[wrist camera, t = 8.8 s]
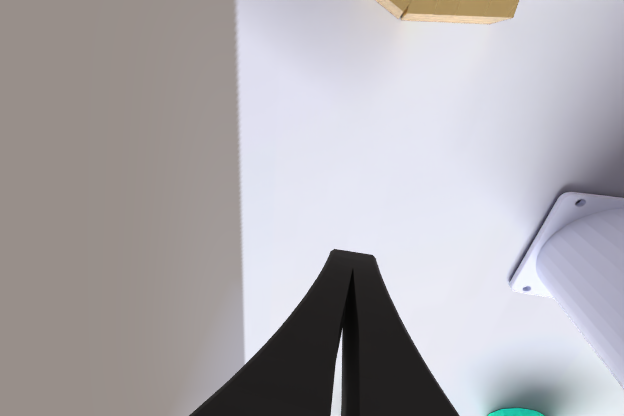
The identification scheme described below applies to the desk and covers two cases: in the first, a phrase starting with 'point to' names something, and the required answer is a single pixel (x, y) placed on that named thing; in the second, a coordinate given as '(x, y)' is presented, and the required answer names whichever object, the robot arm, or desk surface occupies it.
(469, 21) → the wide wooden arch
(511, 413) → the candle
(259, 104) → the desk surface
